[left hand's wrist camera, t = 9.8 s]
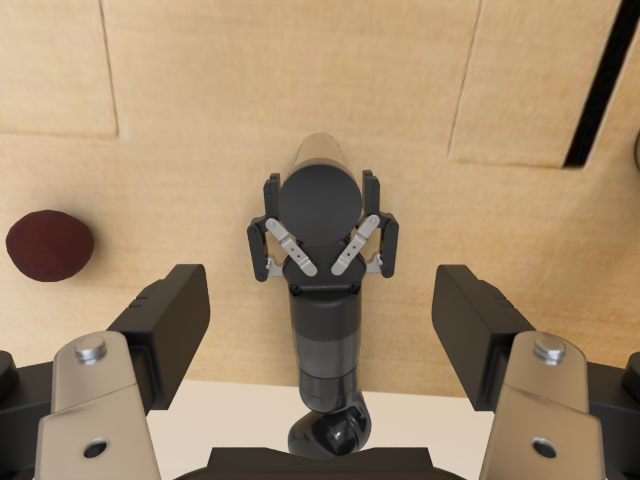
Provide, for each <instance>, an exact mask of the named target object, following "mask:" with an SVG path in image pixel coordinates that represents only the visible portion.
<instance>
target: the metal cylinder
mask: <svg viewBox="0 0 640 480" xmlns="http://www.w3.org/2000/svg"><path fill="white" fill-rule="evenodd" d="M312 158H328V159H332V160H335V161H337V162H339V163H341V164H342V165H344V166H345V167H346V168H347V166H346V164H345V161H344V158H343V156H342V153H341V151H340V148H339V145H338V143H337V142H336V140H335V139H334V138H333V137H331V136H330V135H328V134H325V133H315V134H312V135H310V136H309V137H307V138H306V139H305V140H304V142H303V143H302V145H301V148H300V151H299V153H298V156H297V158H296V161H295V164H294V166H293V168H294V167H295V166H296V165H298V164H299V163H301V162H303V161H305V160H308V159H312Z"/></svg>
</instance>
